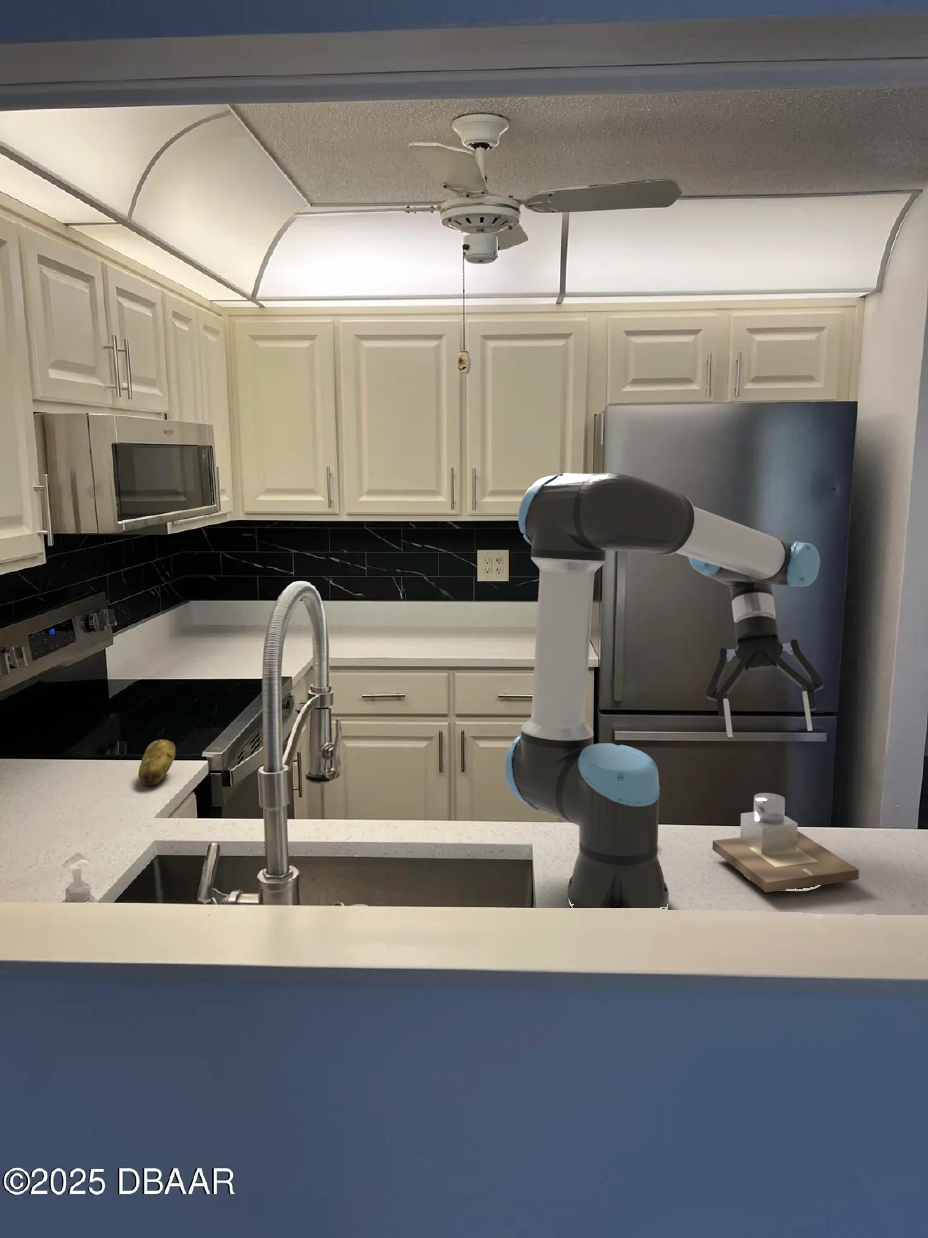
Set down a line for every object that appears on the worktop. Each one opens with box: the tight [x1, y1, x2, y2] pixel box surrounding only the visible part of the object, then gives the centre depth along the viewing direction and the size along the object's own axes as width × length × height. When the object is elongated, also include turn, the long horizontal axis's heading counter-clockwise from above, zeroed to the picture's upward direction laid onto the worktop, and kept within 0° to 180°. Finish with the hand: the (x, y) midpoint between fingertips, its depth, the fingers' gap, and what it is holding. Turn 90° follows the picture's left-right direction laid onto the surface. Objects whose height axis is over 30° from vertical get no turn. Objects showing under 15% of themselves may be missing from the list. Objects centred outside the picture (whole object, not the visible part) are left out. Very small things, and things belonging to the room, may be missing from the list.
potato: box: [137, 739, 176, 787], centre depth 190 cm, size 8×13×8 cm, turn 166°
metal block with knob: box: [739, 792, 798, 854], centre depth 142 cm, size 6×6×8 cm
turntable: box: [712, 830, 860, 893], centre depth 139 cm, size 16×16×2 cm
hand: (769, 732), depth 153 cm, fingers open, 13 cm apart
